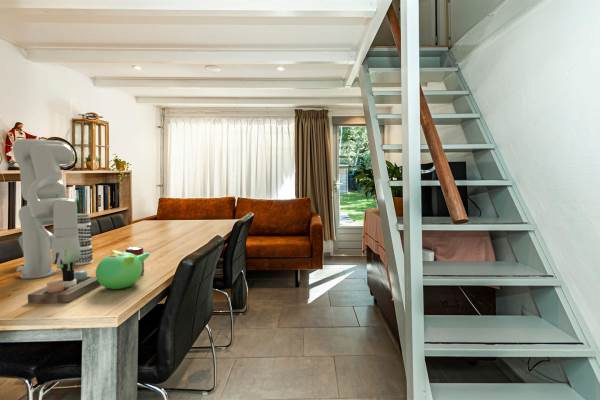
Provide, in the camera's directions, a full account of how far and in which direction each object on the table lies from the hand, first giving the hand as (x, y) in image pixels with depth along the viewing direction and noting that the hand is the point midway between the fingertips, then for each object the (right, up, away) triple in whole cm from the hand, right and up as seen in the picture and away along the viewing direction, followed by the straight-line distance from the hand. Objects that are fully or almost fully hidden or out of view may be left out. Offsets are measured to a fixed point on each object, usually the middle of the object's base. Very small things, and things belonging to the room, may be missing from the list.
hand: (68, 280), depth 131 cm
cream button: (0, -3, 0) cm, 3 cm away
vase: (-47, -2, +47) cm, 66 cm away
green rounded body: (+17, -4, +7) cm, 19 cm away
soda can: (+14, -3, +25) cm, 28 cm away
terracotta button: (0, -2, -7) cm, 7 cm away
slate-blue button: (0, -1, +7) cm, 7 cm away
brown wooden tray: (0, -5, 0) cm, 5 cm away
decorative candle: (-24, -2, +47) cm, 53 cm away
